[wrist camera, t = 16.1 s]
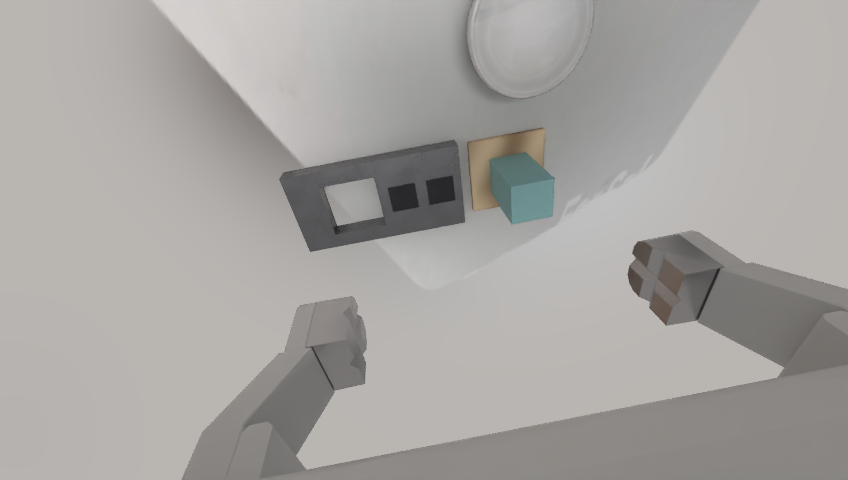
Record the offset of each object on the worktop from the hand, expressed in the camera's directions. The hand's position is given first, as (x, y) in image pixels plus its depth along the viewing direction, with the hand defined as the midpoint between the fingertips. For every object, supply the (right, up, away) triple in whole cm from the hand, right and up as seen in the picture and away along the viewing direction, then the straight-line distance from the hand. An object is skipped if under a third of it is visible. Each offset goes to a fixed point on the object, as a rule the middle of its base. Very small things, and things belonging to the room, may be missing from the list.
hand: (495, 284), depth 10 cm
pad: (+8, +10, +32) cm, 34 cm away
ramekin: (+7, +23, +24) cm, 34 cm away
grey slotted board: (-8, +7, +32) cm, 33 cm away
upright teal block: (+8, +10, +32) cm, 34 cm away
